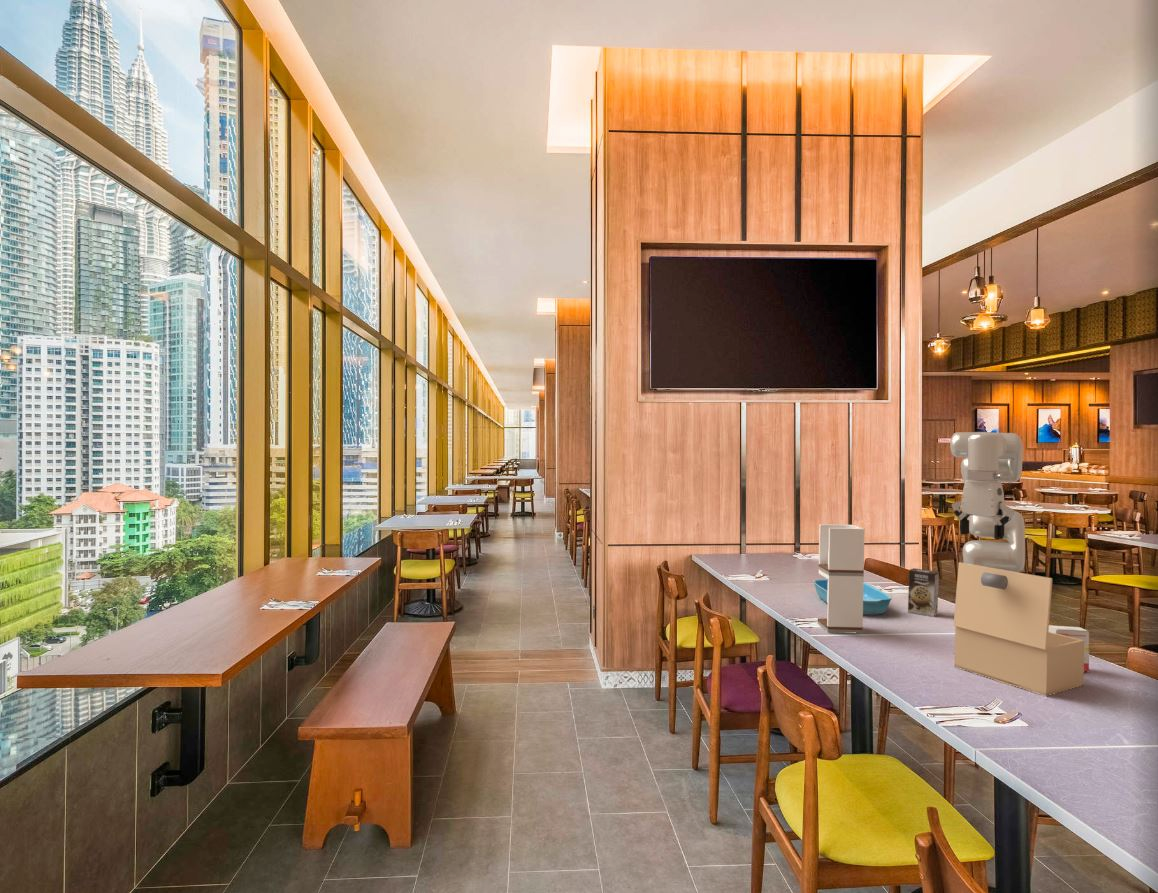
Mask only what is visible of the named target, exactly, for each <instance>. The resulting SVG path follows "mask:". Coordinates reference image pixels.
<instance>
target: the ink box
mask: <svg viewBox="0 0 1158 893" xmlns="http://www.w3.org/2000/svg"><path fill="white" fill-rule="evenodd" d="M1048 632H1051V633H1056V634H1060V635H1064V636H1068V637H1072V638H1076V639H1081V640H1084V673H1086V672H1085V671H1089V672H1090V631H1088V629H1084V628H1082V627H1080V626H1065V625H1064V626H1063V625H1062V626H1061V625H1051V624H1049V629H1048Z"/></svg>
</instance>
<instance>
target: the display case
mask: <svg viewBox="0 0 1158 893" xmlns="http://www.w3.org/2000/svg"><path fill="white" fill-rule="evenodd" d="M818 527H819V536H818V538H819V540H818V574H819V575H820V576H822V577H824V579H828V592H827V603H826V604H827V614H826V615H827V616H826V617H825V618H824V617H823V618H822V617H817V625H818V624H819V625H820V626H819V625H818V626H819V627H821V628H822V629H823V628H824V629H823V630H824V631H825V630H826V631H827V632H826V631H825V632H826V633H828V632H856V633H855V634H857V633H862V634H863V629H864V628H863V621H864V614H863V582H864V583H865V577H864V575H865V574H864V572H865V570H864V569H865V567H864V566H865V530H866V529H865V528H863V527H859V526H857V525H854V524H832V523H831V524H827V523H826V524H823V523H822V524H821V523H820V524H819V526H818Z"/></svg>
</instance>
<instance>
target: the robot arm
mask: <svg viewBox="0 0 1158 893" xmlns="http://www.w3.org/2000/svg"><path fill="white" fill-rule="evenodd" d="M949 446H950V447H949V448H950V452H951V454H952V456H953V457H954V458H963V459H962V460H961V463H960V473H961V476H962V477H961V478H962V482H963V483H964V485H963V488H962V496H961V500H958V501H955V502H954V503H952V504H951V505H950V506H951V507H952V509H953V510H952V511H954V512H953V513H954V515H955V516H956V517H957V520H958V521H959V530H960V534H961V535H968V534H969V533H970V535H973V536H975V537H980V538H987V539H988V538H989V539H995V540H1002V539H1003V540H1006V541H1007V542H1003V541H993V540H982V539H981V540H978V539H977V540H976V539H974V540H970V541H967V542H965V544H964V545H963V546H962V559H963V563H967V564H973V565H978V566H984V567H990V568H996V569H1001V570H1007V571H1013V572H1018V573H1021V572H1022V571H1023V570H1024V568H1025V564H1026V530H1025V529H1026V528H1025V527H1026V525H1025V518H1024V517H1023V514H1021V513H1020V512H1018V511H1015V509H1013V508H1011V507H1009V506H1008V505H1006V504H1005V494H1004V489H1003V484H1002V483H1015V482H1018V481H1019V480H1020V479H1021V477H1022V473H1023V457H1024V456H1023V455H1024V454H1023V453H1024V448H1023V446H1024V445H1023V441H1022V439H1021V437H1020V436H1019V435H1018V434H1017V433H1015V432H1013V433H1012V432H990V431H989V432H988V431H974V432H973V431H971V432H970V431H968V432H967V431H963V432H957V431H956V432H955V433H953V434H952V436H951V439H950V444H949ZM960 507H961V509H960Z"/></svg>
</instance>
